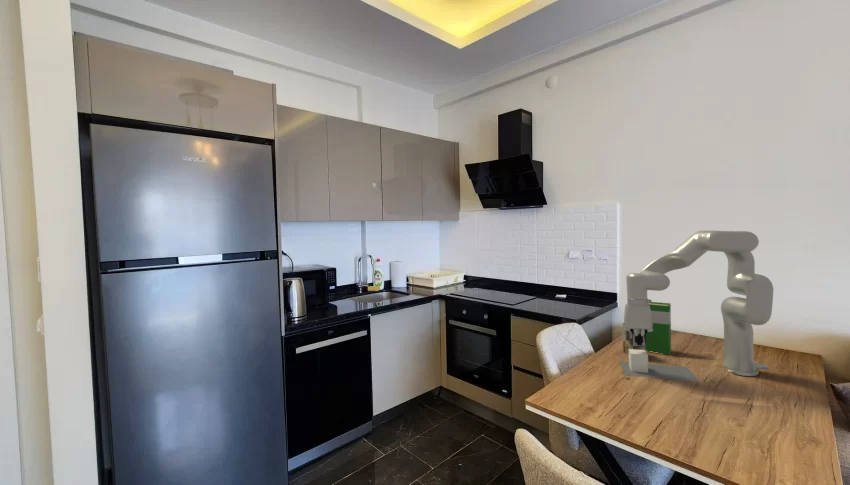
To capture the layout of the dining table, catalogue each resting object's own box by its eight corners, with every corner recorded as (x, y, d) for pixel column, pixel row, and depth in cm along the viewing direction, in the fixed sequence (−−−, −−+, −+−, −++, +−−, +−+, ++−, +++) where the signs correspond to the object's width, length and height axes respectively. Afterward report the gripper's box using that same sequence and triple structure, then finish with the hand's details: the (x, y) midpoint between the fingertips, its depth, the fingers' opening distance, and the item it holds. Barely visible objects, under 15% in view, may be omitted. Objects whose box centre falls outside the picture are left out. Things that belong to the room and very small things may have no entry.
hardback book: (628, 348, 186) (627, 302, 186) (631, 344, 192) (630, 300, 191) (669, 355, 175) (669, 306, 175) (671, 350, 181) (670, 303, 180)
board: (686, 370, 157) (686, 366, 157) (700, 385, 142) (700, 381, 142) (619, 364, 166) (619, 361, 166) (625, 378, 151) (625, 374, 151)
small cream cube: (644, 367, 158) (644, 350, 158) (648, 372, 152) (647, 354, 152) (628, 365, 160) (628, 349, 160) (631, 371, 154) (631, 353, 154)
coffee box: (647, 361, 169) (646, 327, 168) (633, 361, 169) (632, 327, 168) (636, 354, 178) (635, 322, 177) (622, 354, 178) (622, 322, 177)
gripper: (655, 300, 156) (656, 342, 157) (616, 300, 161) (618, 340, 162) (659, 304, 149) (661, 348, 150) (619, 303, 154) (621, 346, 155)
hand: (639, 344), depth 156 cm, fingers closed
